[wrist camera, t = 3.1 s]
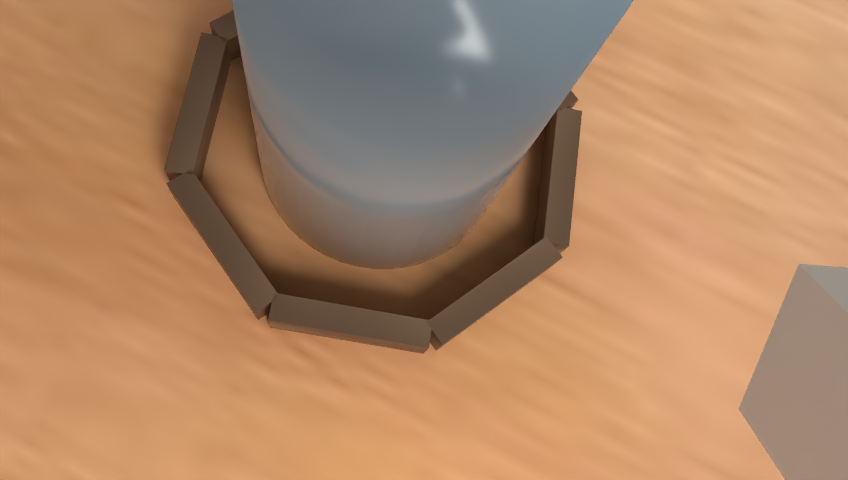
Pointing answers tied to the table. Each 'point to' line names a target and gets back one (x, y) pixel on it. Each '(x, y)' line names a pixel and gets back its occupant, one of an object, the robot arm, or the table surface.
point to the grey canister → (404, 111)
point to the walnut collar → (335, 317)
